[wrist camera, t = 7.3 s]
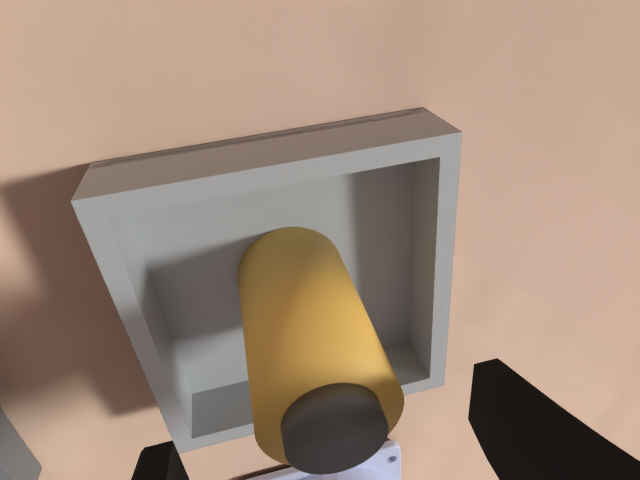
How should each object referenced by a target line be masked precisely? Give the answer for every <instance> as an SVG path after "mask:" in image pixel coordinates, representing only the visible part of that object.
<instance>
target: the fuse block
mask: <svg viewBox="0 0 640 480" xmlns="http://www.w3.org/2000/svg"><path fill="white" fill-rule="evenodd" d="M41 468H42V467H41V465H40V464H39V463H38V461H37V460H36V458H35V457H34V456H33V454H32V453H31V451H30V450H29V449H28V447H27V446H26V444H25V443H24V441H23V440H22V439H21V437H20V436H19V434H18V433H17V432H16V430H15V429H14V427H13V426H12V425H11V423H10V422H9V420H8V419H7V417H6V416H5V415H4V413H3V412H2V410H1V409H0V480H38V478H39V475H40V472H41Z"/></svg>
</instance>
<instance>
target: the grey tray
mask: <svg viewBox="0 0 640 480" xmlns="http://www.w3.org/2000/svg"><path fill="white" fill-rule="evenodd" d="M461 142H462V131H460V130H458V129H457V128H455V127H454V126H452V125H451V124H449V123H447V122H446V121H444V120H443V119H441V118H440V117H438V116H437V115H435V114H433V113H432V112H430V111H429V110H427V109H426V108H424V107H423V108H417V109H411V110H405V111H399V112H393V113H387V114H381V115H375V116H369V117H363V118H357V119H351V120H345V121H339V122H333V123H327V124H321V125H315V126H309V127H303V128H297V129H291V130H285V131H279V132H273V133H267V134H261V135H255V136H249V137H243V138H237V139H231V140H225V141H219V142H213V143H207V144H201V145H195V146H189V147H183V148H177V149H171V150H165V151H159V152H153V153H147V154H141V155H135V156H129V157H123V158H117V159H111V160H105V161H99V162H93V163H90V165H89V167H88V169H87V171H86V173H85V175H84V176H83V178H82V180H81V182H80V184H79V186H78V188H77V190H76V191H75V193H74V195H73V197H72V199H71V204H72V206H73V208H74V211H75V213H76V215H77V218H78V220H79V222H80V225H81V227H82V229H83V232H84V234H85V236H86V239H87V241H88V243H89V246H90V248H91V250H92V253H93V255H94V257H95V260H96V262H97V264H98V267H99V269H100V271H101V274H102V276H103V278H104V281H105V283H106V285H107V288H108V290H109V292H110V295H111V297H112V299H113V302H114V304H115V306H116V309H117V311H118V313H119V316H120V318H121V321H122V323H123V325H124V328H125V330H126V332H127V335H128V337H129V339H130V342H131V344H132V346H133V349H134V351H135V353H136V356H137V358H138V360H139V363H140V365H141V367H142V370H143V372H144V374H145V377H146V379H147V381H148V384H149V386H150V388H151V391H152V393H153V395H154V398H155V400H156V402H157V405H158V407H159V409H160V412H161V414H162V416H163V419H164V421H165V423H166V426H167V428H168V430H169V433H170V435H171V437H172V440H173V442H174V444H175V447H176V449H177V451H178V454H179V453H183V452H187V451H191V450H195V449H199V448H203V447H207V446H211V445H214V444H218V443H222V442H226V441H230V440H234V439H238V438H242V437H246V436H249V435H253V434H254V425H253V416H252V407H251V398H250V389H249V380H248V371H247V362H246V353H245V344H244V335H243V326H242V317H241V308H240V299H239V290H238V281H237V271H238V266H239V263H240V260H241V258H242V256H243V254H244V253H245V251H246V250H247V249H248V248H249V246H251V245H252V244H253V243H254V242H255V241H256V240H257V239H259V238H260V237H262V236H264V235H265V234H267V233H270V232H272V231H275V230H278V229H282V228H289V227H302V228H308V229H312V230H315V231H317V232H319V233H321V234H323V235H325V236H326V237H327V238H329V239H330V240H331V241H332V242H333V244H334V245H335V246H336V248H337V250H338V252H339V254H340V256H341V258H342V260H343V263H344V265H345V267H346V269H347V271H348V273H349V276H350V278H351V280H352V282H353V284H354V286H355V289H356V291H357V293H358V295H359V297H360V299H361V301H362V304H363V306H364V308H365V310H366V312H367V314H368V317H369V319H370V321H371V323H372V325H373V327H374V330H375V332H376V334H377V336H378V338H379V340H380V343H381V345H382V347H383V349H384V351H385V353H386V356H387V358H388V360H389V362H390V364H391V366H392V369H393V371H394V373H395V375H396V377H397V379H398V381H399V384H400V386H401V388H402V391H403V395H404V396H405V395H409V394H412V393H416V392H420V391H424V390H428V389H432V388H436V387H440V386H444V381H445V367H446V353H447V339H448V325H449V311H450V297H451V283H452V269H453V254H454V240H455V226H456V212H457V198H458V184H459V170H460V156H461Z"/></svg>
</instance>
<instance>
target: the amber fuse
mask: <svg viewBox="0 0 640 480" xmlns="http://www.w3.org/2000/svg"><path fill="white" fill-rule="evenodd" d="M237 281H238V290H239V299H240V308H241V317H242V326H243V335H244V344H245V353H246V362H247V371H248V380H249V389H250V398H251V407H252V416H253V425H254V434H255V438H256V441H257V443H258V445H259V447H260V448H261V450H262V451H263V452H264V453H265V454H266V455H268V456H269V457H271V458H272V459H274V460H276V461H278V462H280V463H283V464H287V465H291V466H293V467H294V468H295V469H297V470H299V471H302V472H305V473H309V474H317V475H324V474H333V473H338V472H342V471H345V470H348V469H351V468H353V467H356V466H358V465H360V464H362V463H363V462H365V461H367V460H368V459H369V458H371V457H372V456H373V455H374V454H375V453H377V452H378V450H379V449H380V448H381V447H382V446H383V444H384V443H385V441H386V439H387V436H388V434H389V433H390V432H391V431H392V430H393V428H394V427H395V425H396V424H397V422H398V420H399V419H400V417H401V414H402V411H403V406H404V395H403V391H402V388H401V386H400V384H399V381H398V379H397V377H396V375H395V373H394V371H393V369H392V366H391V364H390V362H389V360H388V358H387V356H386V353H385V351H384V349H383V347H382V345H381V343H380V340H379V338H378V336H377V334H376V332H375V330H374V327H373V325H372V323H371V321H370V319H369V317H368V314H367V312H366V310H365V308H364V306H363V304H362V301H361V299H360V297H359V295H358V293H357V291H356V289H355V286H354V284H353V282H352V280H351V278H350V276H349V273H348V271H347V269H346V267H345V265H344V263H343V260H342V258H341V256H340V254H339V252H338V250H337V248H336V246H335V245H334V244H333V242H332V241H331V240H330V239H329V238H327V237H326V236H325V235H323V234H321V233H319V232H317V231H315V230H312V229H308V228H302V227H289V228H282V229H278V230H275V231H272V232H270V233H267V234H265V235H264V236H262V237H260V238H259V239H257V240H256V241H255V242H254V243H253V244H252V245H251V246H249V248H248V249H247V250H246V251H245V253H244V254H243V256H242V258H241V260H240V263H239V266H238V271H237Z"/></svg>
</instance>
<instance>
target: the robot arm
mask: <svg viewBox="0 0 640 480" xmlns="http://www.w3.org/2000/svg"><path fill="white" fill-rule="evenodd" d="M468 420H469V422H470V424H471V426H472V428H473V430H474V433H475V435H476V437H477V439H478V441H479V443H480V445H481V447H482V449H483V451H484V453H485V456H486V458H487V460H488V461H489V463H490V465H491V466H492V468H493V470H494V471H495V473H496V475H497V476H498V478H499V479H500V480H640V461H639V460H637V459H635V458H634V457H632V456H631V455H629V454H628V453H626V452H625V451H623V450H622V449H620V448H619V447H617V446H616V445H614V444H613V443H611V442H610V441H608V440H607V439H605V438H604V437H603V436H601V435H600V434H598V433H597V432H595V431H594V430H592V429H591V428H590V427H588V426H587V425H586V424H584V423H583V422H581V421H580V420H579V419H577V418H576V417H574V416H573V415H572V414H570V413H569V412H567V411H566V410H565V409H563V408H562V407H561V406H559V405H558V404H557V403H555V402H554V401H553V400H551V399H550V398H549V397H547V396H546V395H545V394H543V393H542V392H541V391H539V390H538V389H537V388H536V387H534V386H533V385H532V384H530V383H529V382H528V381H526V380H525V379H524V378H523V377H521V376H520V375H519V374H517V373H516V372H515V371H514V370H512V369H511V368H510V367H508V366H507V365H506V364H504V363H503V362H502V361H500V360H499V359H498V358H497V359H493V360H489V361H485V362H481V363H477V364H474V371H473V380H472V389H471V398H470V407H469V416H468ZM131 480H189V478H188V475H187V473H186V471H185V468H184V466H183V464H182V461H181V459H180V456H179V454H178V452H177V449H176V447H175V445H174V442H173V441H169V442H165V443H161V444H157V445H153V446H149V447H145V448H144V449H143V450H142V451H141V453H140V456H139V459H138V462H137V465H136V468H135V471H134V473H133V476H132V479H131ZM245 480H401V449H400V446H399V444H398V442H397V441H394V440H389V441H385V443H384V444H383V446H382V447H381V448H380V449H379V450H378V452H377V453H375V454H374V455H373V456H372V457H371V458H369V459H368V460H367V461H365V462H363V463H362V464H360V465H358V466H356V467H353V468H351V469H348V470H345V471H342V472H338V473H333V474H324V475H317V474H309V473H305V472H302V471H299V470H297V469H295V468H294V467H289V468H286V469H282V470H278V471H274V472H271V473H267V474H263V475H260V476H256V477H252V478H249V479H245Z"/></svg>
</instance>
